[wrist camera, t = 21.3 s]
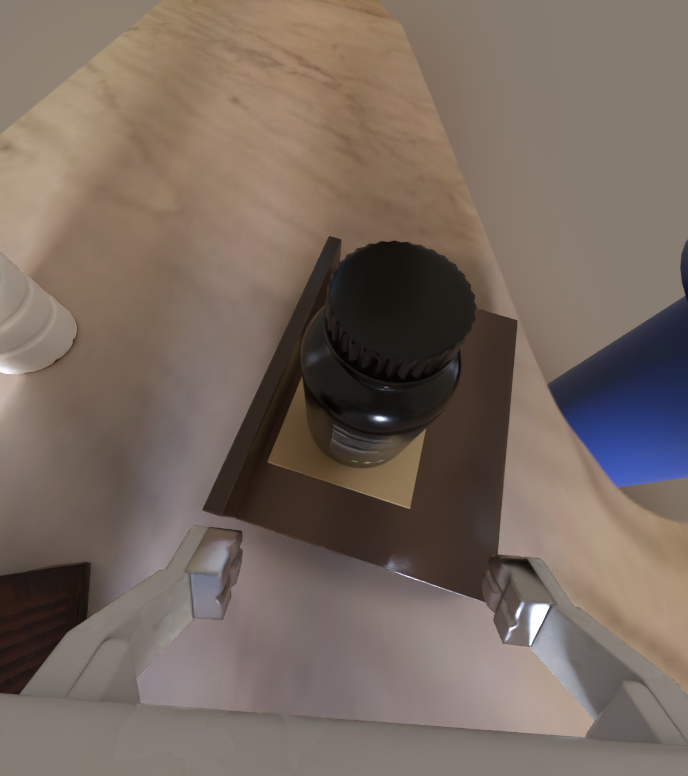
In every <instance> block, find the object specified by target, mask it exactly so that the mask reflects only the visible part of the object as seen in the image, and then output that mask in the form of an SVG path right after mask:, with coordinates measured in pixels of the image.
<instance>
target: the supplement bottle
mask: <svg viewBox="0 0 688 776" xmlns="http://www.w3.org/2000/svg"><path fill="white" fill-rule="evenodd" d="M474 299H475V295H474V293H473V292H472V291H471V284H470V283H469V282H468V281H467V280H466V279H465V275H464V274H463V273H462V272H461V271H459V270H458V268H457V266H456V265H455V264H454V263H452V262H450V261H449V260H448V259H447V258H446V257H445V256H443V255H440V254H438V253H436V252H435V251H434V250H431V249H426V248H425V247H423V246H421V245H414V244H411V243H409V242H398V241H391V242H383V241H381V242H378V243H376V244H368V245H366V246H365V247H362V248H357V249H356V250H355V252H353V253H350V254H348V255H347V256H346V258H345V259H344V260H342V261H341V262H339V263H338V267H337V269H335V270H334V271H333V272H332V275H331V280H330V282H329V283H328V287H327V298H326V304H325V305H324V306H323V307H322V308H321V309H320V310H319V311H318V312H317V313H316V315H315V316H314V317H313V319H312V320H311V322H310V323H309V325H308V327H307V329H306V332H305V334H304V338H303V341H302V346H301V370H302V379H303V388H304V397H305V405H306V414H307V421H308V426H309V430H310V433H311V435H312V437H313V439H314V441H315V443H316V444H317V446H318V447H319V448H320V450H321V451H322V452H323V453H324V454H326V455H327V456H328V457H329V458H331V459H332V460H334V461H336V462H337V463H340V464H342V465H345V466H348V467H352V468H372V467H376V466H380V465H382V464H385V463H387V462H388V461H390V460H392V459H393V458H395V457H396V456H397V455H398V454H400V453H401V452H402V451H403V450H404V449H405V448H406V447H407V446H408V445H409V444H410V443H411V442H412V441H413V440H414V439H415V438H417V437H418V436H419V435H420V434H421V433H422V432H423V431H424V430H425V429H426V428H427V427H428V426H429V425H430V424H431V423H432V422H433V421H434V420H435V419H436V418H437V417H438V416H439V415H440V414H441V413H442V412H443V411H444V410H445V409H446V407H447V406H448V405H449V403H450V402H451V401H452V399H453V397H454V396H455V394H456V391H457V389H458V386H459V383H460V379H461V373H462V356H461V350H460V348H461V347H462V345H463V344H464V342H465V340H466V339H467V338H468V336H469V335H470V333H471V331H472V325H473V324H474V322H475V320H476V317H475V311H476V308H477V307H476V304H475V302H474Z"/></svg>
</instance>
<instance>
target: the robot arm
mask: <svg viewBox="0 0 688 776" xmlns="http://www.w3.org/2000/svg"><path fill="white" fill-rule="evenodd" d="M241 542H242V531H239V530H231V529H222V528H214V527H203V526H195V525H194V526H193V527H192V528H191V529H190V530H189V532H188V533H187V535H186V537H185V538H184V540H183V542H182V543H181V545H180V546H179V548H178V550H177V551H176V553H175V555H174V556H173V558H172V560H171V561H170V563H169V565H168V566H167V568H166V570H159V571H158V572H156V573H155V574H153V575H152V576H150V577H149V578H147V579H146V580H144V581H143V582H141V583H140V584H138V585H137V586H135V587H134V588H132V589H131V590H130V591H128V592H127V593H125V594H124V595H122V596H121V597H119V598H118V599H116V600H115V601H113V602H112V603H110V604H109V605H107V606H106V607H104V608H103V609H101V610H100V611H98V612H97V613H95V614H94V615H92V616H91V617H89V618H88V619H86V620H85V621H84V622H82V623H81V624H79V625H78V626H76V627H75V628H73V629H72V630H70V631H69V632H67V633H66V635H65V636H64V637H63V639H62V640H61V641H60V642H59V644H58V645H57V646H56V648H55V649H54V650H53V651H52V653H51V654H50V655H49V657H48V658H47V659H46V661H45V662H44V663H43V664H42V666H41V667H40V668H39V670H38V671H37V672H36V673H35V675H34V676H33V677H32V679H31V680H30V681H29V682H28V684H27V685H26V686H25V688H24V689H23V690H22V691H21V693H20V694H6V693H0V776H688V696H687V694H686V693H685V692H684V691H683V689H682V688H681V687H680V686H679V684H678V683H676V682H675V681H674V680H673V679H671V678H670V677H669V676H667V675H666V674H665V673H663V672H662V671H661V670H660V669H658V668H657V667H656V666H654V665H653V664H652V663H651V662H649V661H648V660H647V659H645V658H644V657H643V656H641V655H640V654H639V653H638V652H636V651H635V650H634V649H632V648H631V647H630V646H629V645H627V644H626V643H625V642H623V641H622V640H621V639H619V638H618V637H617V636H616V635H614V634H613V633H612V632H610V631H609V630H608V629H607V628H605V627H604V626H603V625H601V624H600V623H599V622H598V621H596V620H595V619H594V618H592V617H591V616H590V615H588V614H587V613H586V612H585V611H583V610H582V609H581V608H579V607H574V605H573V604H572V602H571V601H570V600H569V598H568V597H567V595H566V594H565V592H564V591H563V589H562V588H561V586H560V585H559V583H558V582H557V580H556V579H555V577H554V576H553V575H552V573H551V572H550V570H549V569H548V567H547V566H546V564H545V563H544V562H543V561H542V560H541V559H540V558H533V557H521V556H510V555H497V554H493V555H492V556H491V557H490V558H489V561H488V564H489V566H490V569H489V570H487V571H486V572H484V575H483V578H482V592H483V597H484V599H485V602H486V604H487V606H488V607H489V608H490V609H491V610H492V611H493V612H494V613H495V615H494V619H493V621H494V624H495V626H496V628H497V631H498V633H499V635H500V638H501V640H502V643H503V644H510V645H519V646H527V647H531V649H532V650H533V652H534V653H535V654H536V655H537V656H538V657H539V658H540V659H541V661H542V662H543V663H544V664H545V665H546V666H547V667H548V668H549V670H550V671H551V672H552V673H553V674H554V675H555V676H556V677H557V679H558V680H559V681H560V682H561V683H562V684H563V685H564V687H565V688H566V689H567V690H568V691H569V692H570V693H571V694H572V696H573V697H574V698H575V699H576V700H577V701H578V702H579V703H580V705H581V706H582V707H583V708H584V709H585V710H586V711H587V713H588V714H589V715H590V716H591V717H592V718H593V719H594V720H595V722H594V723H593V725H592V726H591V727H590V729H589V730H588V732H587V734H586V737H572V736H558V735H545V734H532V733H519V732H506V731H493V730H480V729H467V728H454V727H441V726H428V725H415V724H401V723H388V722H375V721H361V720H348V719H335V718H321V717H308V716H295V715H282V714H269V713H255V712H242V711H229V710H216V709H202V708H189V707H176V706H163V705H150V704H141V702H140V696H139V691H138V685H137V680H136V677H137V676H138V675H139V674H140V673H141V672H142V671H143V670H144V669H145V668H146V667H147V666H148V665H149V664H150V663H151V662H152V661H153V660H154V659H155V658H156V657H157V656H158V655H159V654H160V653H161V652H162V651H163V650H164V649H165V648H166V647H167V646H168V645H169V644H170V643H171V642H172V641H173V640H174V639H175V638H176V637H177V636H178V635H179V634H180V633H181V632H182V631H183V630H184V629H185V628H186V627H187V626H188V625H189V624H190V623H191V622H192V621H193V618H198V619H217V620H223V618H224V615H225V613H226V610H227V607H228V604H229V602H230V599H231V587H232V586H233V585H235V584H236V582H237V579H238V576H239V572H240V568H241V563H242V549H241V548H240V545H241Z"/></svg>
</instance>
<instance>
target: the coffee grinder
mask: <svg viewBox="0 0 688 776" xmlns="http://www.w3.org/2000/svg"><path fill="white" fill-rule="evenodd" d="M89 576H90V563H89V562H82V563H73V564H64V565H55V566H48V567H44V568H40V569H35V570H31V571H27V572H22V573H15V574H9V575H2V576H0V693H6V694H20V693H21V691H22V690H23V689H24V688H25V686H26V685H27V684H28V682H29V681H30V680H31V679H32V677H33V676H34V675H35V673H36V672H37V671H38V670H39V668H40V667H41V666H42V664H43V663H44V662H45V661H46V659H47V658H48V657H49V655H50V654H51V653H52V651H53V650H54V649H55V648H56V646H57V645H58V644H59V642H60V641H61V640H62V639H63V637H64V636H65V635H66V633H67V632H69V631H70V630H72V629H73V628H75V627H76V626H78V625H79V624H81V623H82V622H84V621H85V620H86V619H87V611H88V593H89Z"/></svg>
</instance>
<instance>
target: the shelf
mask: <svg viewBox="0 0 688 776" xmlns="http://www.w3.org/2000/svg"><path fill="white" fill-rule="evenodd" d="M340 253H341V239H338V238H334V237H331V236H329V237H328V240H327V242H326V244H325V246H324V248H323V250H322V252H321V255H320V257H319V259H318V261H317V263H316V265H315V268H314V270H313V272H312V274H311V276H310V278H309V281H308V283H307V285H306V287H305V289H304V291H303V294H302V296H301V298H300V300H299V302H298V304H297V306H296V309H295V311H294V313H293V315H292V317H291V319H290V322H289V324H288V326H287V328H286V330H285V332H284V335H283V337H282V339H281V341H280V343H279V345H278V347H277V350H276V352H275V354H274V356H273V358H272V360H271V363H270V365H269V367H268V369H267V371H266V373H265V376H264V378H263V380H262V382H261V384H260V386H259V388H258V391H257V393H256V395H255V397H254V399H253V401H252V404H251V406H250V408H249V410H248V412H247V414H246V417H245V419H244V421H243V423H242V425H241V427H240V430H239V432H238V434H237V436H236V438H235V440H234V442H233V445H232V447H231V449H230V451H229V453H228V455H227V458H226V460H225V462H224V464H223V466H222V468H221V471H220V473H219V475H218V477H217V479H216V481H215V483H214V486H213V488H212V490H211V492H210V494H209V496H208V499H207V501H206V503H205V505H204V507H203V511H205V512H208V513H211V514H214V515H217V516H221V517H228V518H235V519H238V520H241V521H244V522H247V523H250V524H253V525H256V526H259V527H261V528H264V529H267V530H270V531H273V532H276V533H279V534H282V535H285V536H288V537H291V538H294V539H297V540H300V541H303V542H306V543H309V544H312V545H315V546H318V547H320V548H323V549H326V550H329V551H332V552H335V553H338V554H341V555H344V556H347V557H350V558H353V559H356V560H359V561H362V562H365V563H368V564H371V565H374V566H376V567H379V568H382V569H385V570H388V571H391V572H394V573H397V574H400V575H403V576H406V577H409V578H412V579H415V580H418V581H421V582H424V583H427V584H430V585H433V586H435V587H438V588H441V589H444V590H447V591H450V592H453V593H456V594H459V595H462V596H465V597H468V598H471V599H474V600H477V601H480V602H483V603H486V602H485V599H484V597H483V592H482V578H483V575H484V572H486V571H487V570H489V569H490V566H489V564H488V561H489V558H490V557H491V556H492V555H493V554H498V543H499V531H500V519H501V507H502V496H503V484H504V472H505V461H506V449H507V437H508V426H509V414H510V402H511V390H512V379H513V367H514V355H515V344H516V332H517V320H514V319H511V318H507V317H504V316H500V315H497V314H493V313H490V312H486V311H483V310H479V309H476V311H475V317H476V320H475V322H474V324H473V325H472V331H471V333H470V335H469V336H468V338H467V339H466V340H465V342H464V344H463V345H462V347H461V348H460V350H461V356H462V373H461V379H460V383H459V386H458V389H457V391H456V394H455V396H454V397H453V399H452V401H451V402H450V403H449V405H448V406H447V407H446V409H445V410H444V411H443V412H442V413H441V414H440V415H439V416H438V417H437V418H436V419H435V420H434V421H433V422H432V423H431V424H430V425H429V426H428V427H427V428H426V429H425V430H424V431H423V432H422V433H421V434H420V435H419V436H418V437H417V438H415V439H414V440H413V441H412V442H411V443H410V444H409V445H408V446H407V447H406V448H405V449H404V450H403V451H402V452H401V453H400V454H398V455H397V456H396V457H395V458H393V459H392V460H390V461H388V462H387V463H385V464H382V465H380V466H376V467H372V468H352V467H348V466H345V465H342V464H340V463H337V462H336V461H334V460H332V459H331V458H329V457H328V456H327V455H326V454H324V453H323V452H322V451H321V450H320V448H319V447H318V446H317V444H316V443H315V441H314V439H313V437H312V435H311V433H310V430H309V426H308V421H307V414H306V405H305V397H304V388H303V379H302V370H301V346H302V341H303V338H304V334H305V332H306V329H307V327H308V325H309V323H310V322H311V320H312V319H313V317H314V316H315V315H316V313H317V312H318V311H319V310H320V309H321V308H322V307H323V306H324V305H325V304H326V298H327V287H328V283H329V282H330V280H331V275H332V272H333V271H334V270H335V269H337V267H338V263H339V262H340Z"/></svg>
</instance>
